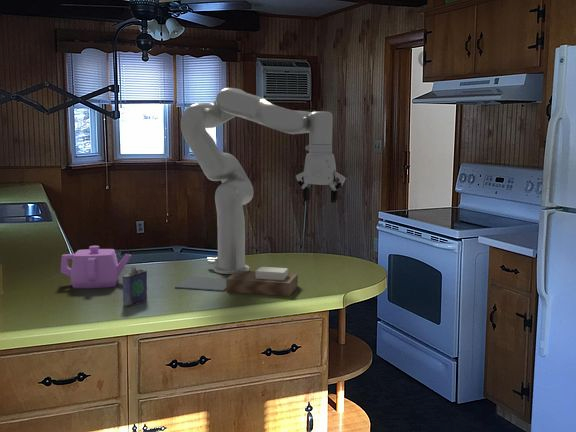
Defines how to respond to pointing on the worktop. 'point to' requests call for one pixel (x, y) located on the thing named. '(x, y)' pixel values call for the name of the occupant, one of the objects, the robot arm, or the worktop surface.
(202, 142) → the robot arm
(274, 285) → the deck
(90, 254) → the teakettle
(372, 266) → the worktop surface
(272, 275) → the tile
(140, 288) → the flask
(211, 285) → the mat
